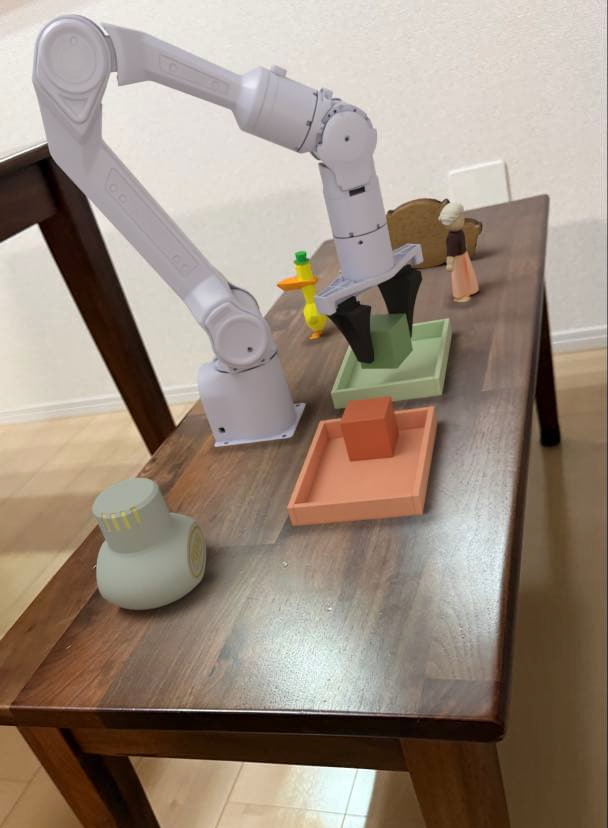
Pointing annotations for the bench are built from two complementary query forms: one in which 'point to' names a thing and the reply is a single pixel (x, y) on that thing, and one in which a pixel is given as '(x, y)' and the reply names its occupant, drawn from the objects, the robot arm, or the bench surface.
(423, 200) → the wooden carving
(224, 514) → the bench surface
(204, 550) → the air freshener
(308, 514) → the terracotta tray
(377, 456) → the terracotta block
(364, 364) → the sage block
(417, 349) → the sage tray
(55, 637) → the bench surface
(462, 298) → the grandmother figurine
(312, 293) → the toy figure
